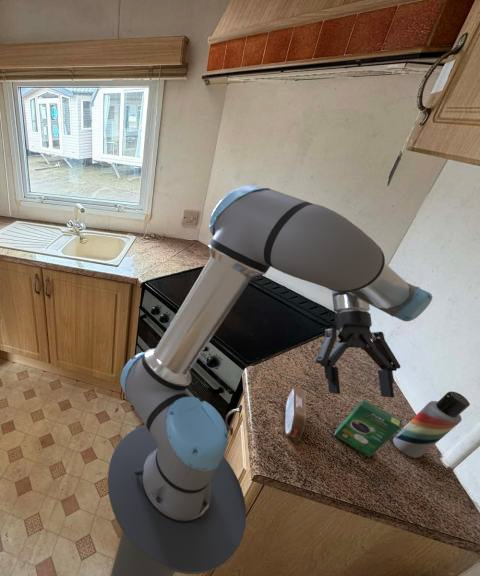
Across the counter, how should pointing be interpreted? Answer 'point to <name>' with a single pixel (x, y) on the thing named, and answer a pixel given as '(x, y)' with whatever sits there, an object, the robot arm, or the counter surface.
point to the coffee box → (367, 428)
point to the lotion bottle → (431, 424)
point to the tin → (295, 414)
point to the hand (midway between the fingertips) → (361, 395)
